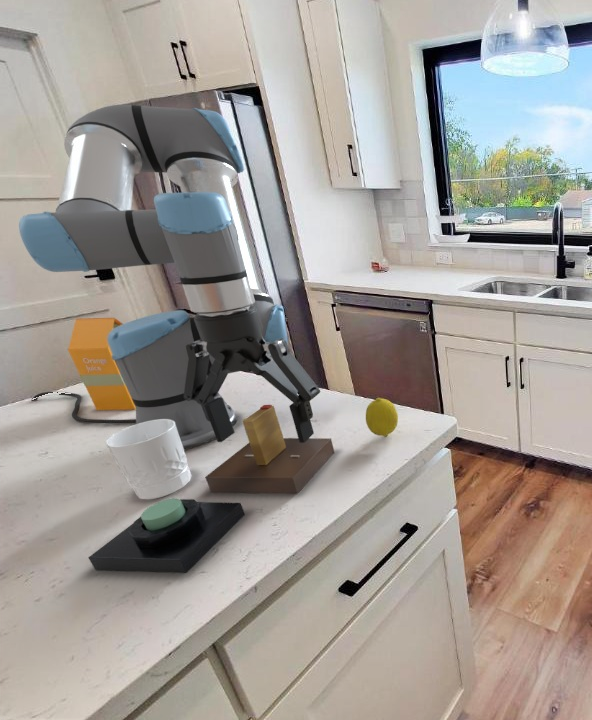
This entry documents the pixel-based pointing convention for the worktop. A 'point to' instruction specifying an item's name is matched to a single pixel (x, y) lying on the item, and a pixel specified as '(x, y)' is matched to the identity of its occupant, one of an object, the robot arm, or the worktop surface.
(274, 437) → the lock turn
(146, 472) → the white cup
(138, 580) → the worktop surface
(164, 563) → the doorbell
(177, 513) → the bell button
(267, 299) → the robot arm
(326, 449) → the plate
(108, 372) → the orange juice
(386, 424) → the lemon
